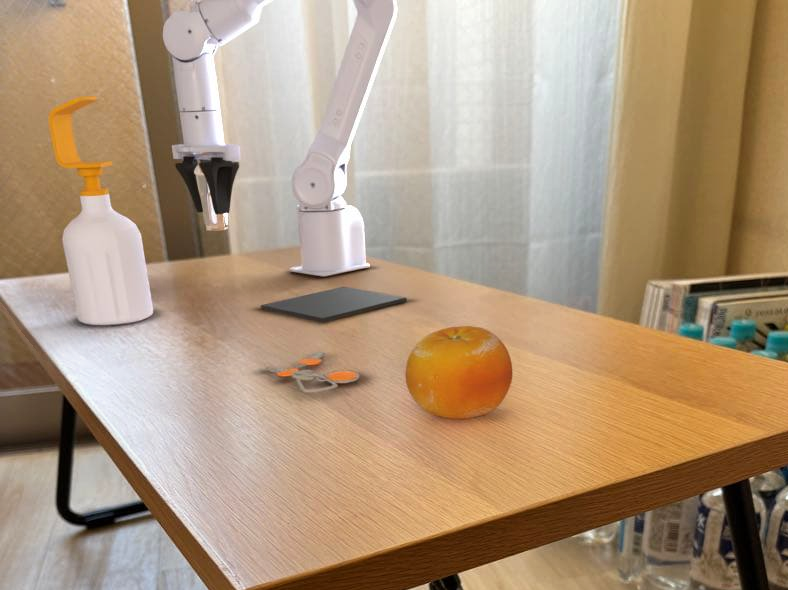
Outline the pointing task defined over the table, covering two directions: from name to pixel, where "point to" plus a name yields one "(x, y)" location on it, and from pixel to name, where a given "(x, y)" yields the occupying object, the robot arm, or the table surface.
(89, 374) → the table surface
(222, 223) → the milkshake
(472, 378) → the fruit
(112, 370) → the table surface
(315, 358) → the key chain
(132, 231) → the soap bottle
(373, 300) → the mat
